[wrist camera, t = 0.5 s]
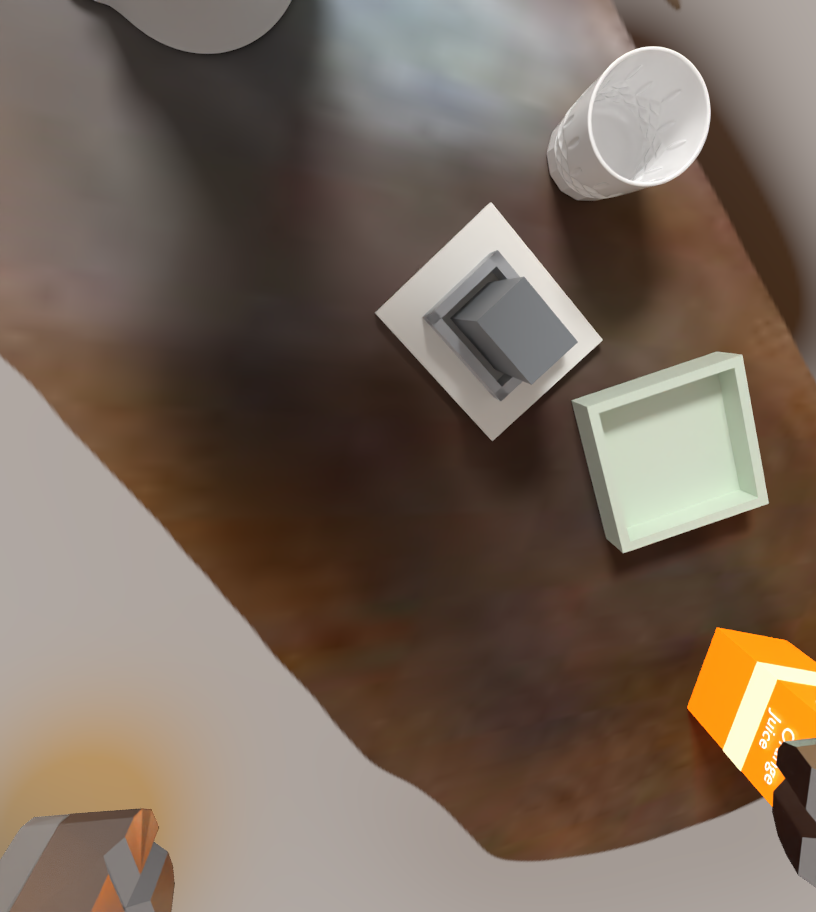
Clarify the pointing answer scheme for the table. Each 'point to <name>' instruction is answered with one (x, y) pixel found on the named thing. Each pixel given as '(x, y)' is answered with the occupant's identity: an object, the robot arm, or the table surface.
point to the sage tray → (672, 450)
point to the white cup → (631, 127)
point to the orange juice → (755, 701)
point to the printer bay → (446, 347)
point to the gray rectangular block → (514, 329)
